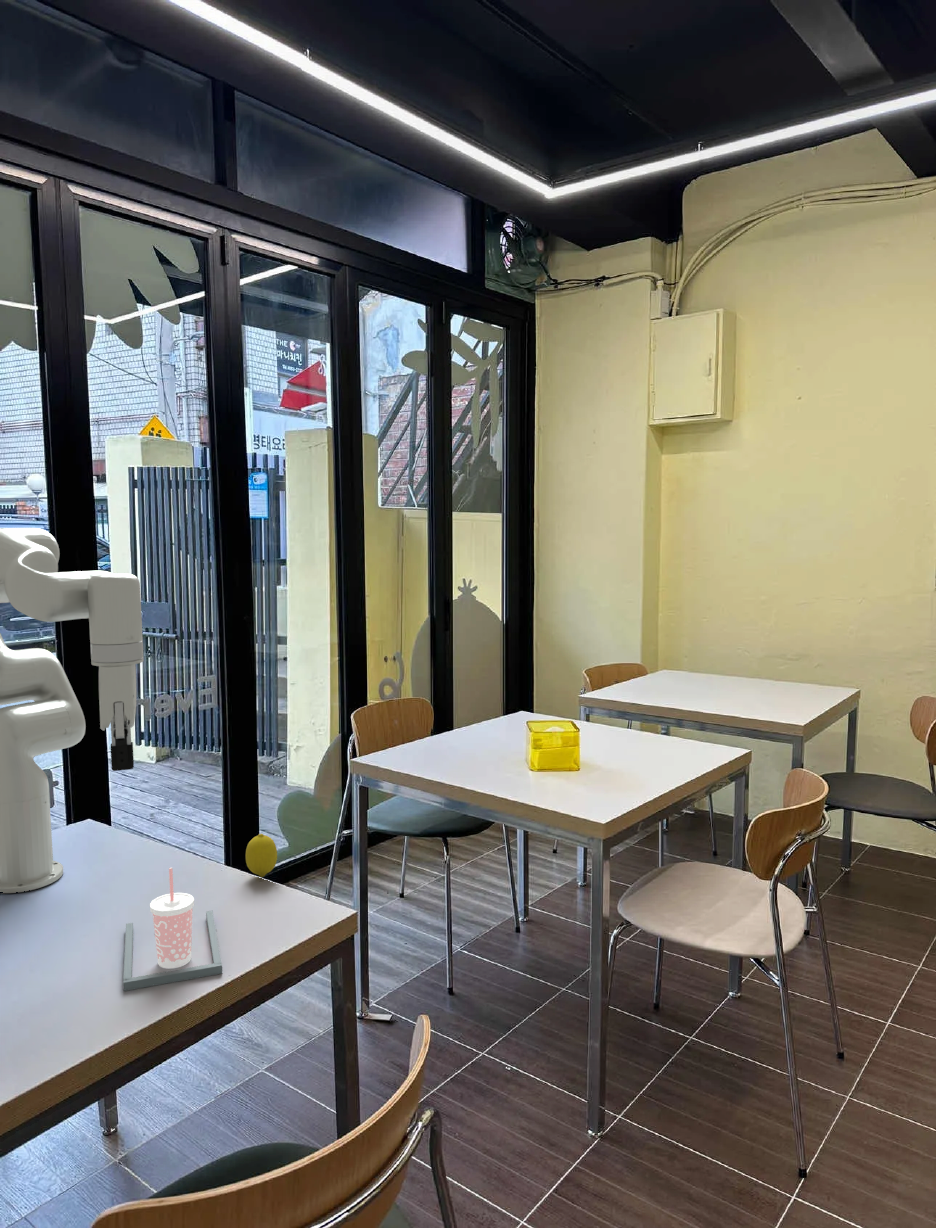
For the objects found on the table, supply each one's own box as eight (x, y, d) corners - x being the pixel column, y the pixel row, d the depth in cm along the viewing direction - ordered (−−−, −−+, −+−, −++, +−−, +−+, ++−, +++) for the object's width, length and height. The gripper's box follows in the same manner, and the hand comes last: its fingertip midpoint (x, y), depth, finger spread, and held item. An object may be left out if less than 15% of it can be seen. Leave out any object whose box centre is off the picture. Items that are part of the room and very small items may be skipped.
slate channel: (126, 930, 135) (126, 923, 135) (212, 917, 139) (212, 910, 139) (123, 990, 118) (123, 982, 118) (222, 973, 122) (222, 965, 122)
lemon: (265, 868, 159) (263, 826, 158) (284, 875, 156) (282, 832, 155) (240, 877, 155) (238, 834, 154) (259, 885, 151) (257, 841, 151)
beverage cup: (146, 958, 127) (142, 866, 125) (188, 945, 130) (184, 856, 129) (160, 975, 122) (155, 880, 120) (202, 962, 125) (199, 869, 124)
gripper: (93, 648, 139) (99, 758, 141) (87, 662, 125) (94, 784, 127) (143, 645, 142) (148, 754, 144) (143, 659, 128) (148, 779, 130)
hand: (122, 768), depth 136 cm, fingers closed
